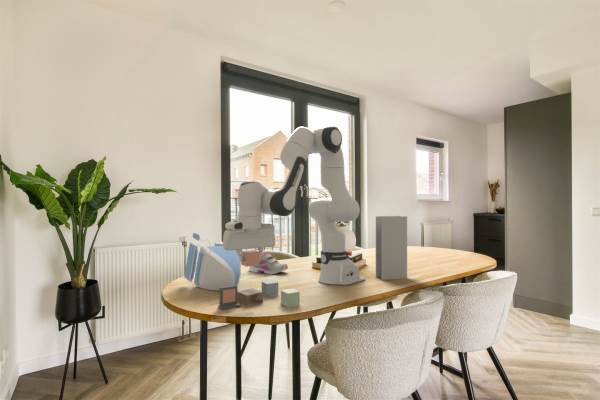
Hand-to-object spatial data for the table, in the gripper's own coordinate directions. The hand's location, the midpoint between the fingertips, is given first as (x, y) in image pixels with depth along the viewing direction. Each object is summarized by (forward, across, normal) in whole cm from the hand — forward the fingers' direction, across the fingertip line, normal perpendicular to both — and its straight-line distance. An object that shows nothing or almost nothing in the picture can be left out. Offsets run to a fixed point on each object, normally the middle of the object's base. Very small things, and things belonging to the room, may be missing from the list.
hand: (249, 260), depth 127 cm
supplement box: (+16, -8, -45) cm, 48 cm away
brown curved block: (+16, 0, 0) cm, 16 cm away
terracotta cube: (+2, 0, 0) cm, 2 cm away
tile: (+15, +9, +2) cm, 18 cm away
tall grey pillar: (+15, -74, +2) cm, 76 cm away
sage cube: (+15, -11, +11) cm, 22 cm away
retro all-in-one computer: (+16, +3, -28) cm, 32 cm away
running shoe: (+16, -29, -42) cm, 54 cm away
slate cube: (+15, -11, -5) cm, 20 cm away
